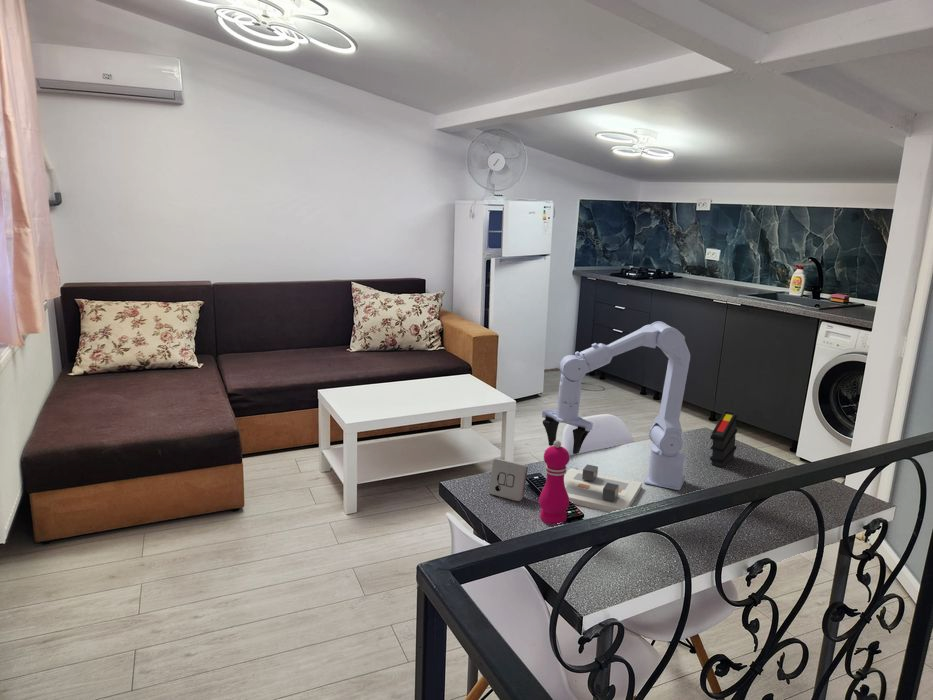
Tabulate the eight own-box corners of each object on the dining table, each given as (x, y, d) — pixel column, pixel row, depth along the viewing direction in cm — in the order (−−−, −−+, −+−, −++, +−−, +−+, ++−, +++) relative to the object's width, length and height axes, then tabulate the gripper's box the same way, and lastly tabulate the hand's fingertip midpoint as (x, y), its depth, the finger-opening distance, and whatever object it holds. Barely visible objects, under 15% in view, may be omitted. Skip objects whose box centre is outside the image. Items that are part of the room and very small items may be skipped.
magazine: (739, 449, 201) (737, 412, 193) (723, 478, 193) (720, 441, 186) (726, 446, 203) (724, 409, 196) (710, 475, 196) (707, 437, 188)
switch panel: (641, 488, 177) (641, 482, 176) (625, 515, 161) (625, 509, 161) (569, 473, 185) (570, 467, 185) (547, 497, 170) (548, 491, 169)
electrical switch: (487, 494, 171) (490, 460, 170) (496, 488, 176) (499, 455, 174) (520, 503, 167) (523, 467, 165) (528, 497, 171) (531, 462, 170)
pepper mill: (532, 514, 161) (536, 437, 156) (558, 509, 163) (562, 433, 159) (547, 528, 154) (551, 447, 150) (574, 522, 157) (578, 443, 152)
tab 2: (618, 495, 168) (619, 484, 167) (614, 501, 164) (614, 490, 164) (606, 492, 169) (607, 482, 168) (602, 498, 166) (603, 488, 165)
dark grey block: (597, 476, 179) (597, 466, 178) (593, 481, 176) (593, 471, 175) (586, 473, 180) (587, 464, 180) (582, 479, 177) (582, 469, 176)
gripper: (537, 396, 176) (533, 444, 179) (584, 410, 167) (579, 460, 170) (552, 392, 181) (547, 438, 184) (598, 405, 172) (593, 453, 175)
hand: (563, 448), depth 177 cm, fingers open, 7 cm apart
